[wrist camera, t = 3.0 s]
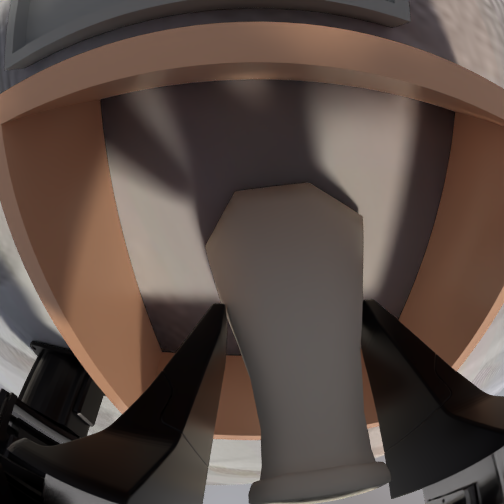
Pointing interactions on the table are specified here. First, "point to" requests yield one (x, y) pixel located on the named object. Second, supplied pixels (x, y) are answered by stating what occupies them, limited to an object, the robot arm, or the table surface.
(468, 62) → the table surface
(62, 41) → the grey tray
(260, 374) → the flask
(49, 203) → the terracotta box
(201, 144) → the table surface
